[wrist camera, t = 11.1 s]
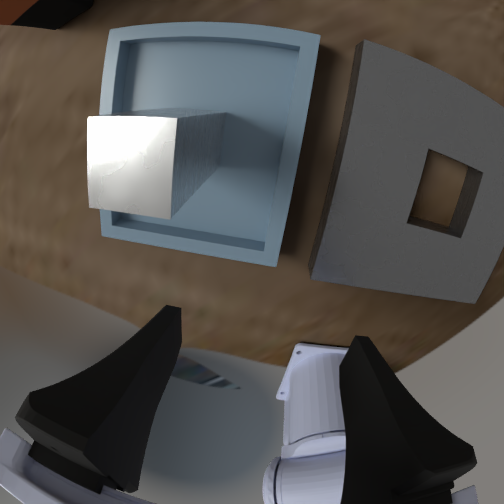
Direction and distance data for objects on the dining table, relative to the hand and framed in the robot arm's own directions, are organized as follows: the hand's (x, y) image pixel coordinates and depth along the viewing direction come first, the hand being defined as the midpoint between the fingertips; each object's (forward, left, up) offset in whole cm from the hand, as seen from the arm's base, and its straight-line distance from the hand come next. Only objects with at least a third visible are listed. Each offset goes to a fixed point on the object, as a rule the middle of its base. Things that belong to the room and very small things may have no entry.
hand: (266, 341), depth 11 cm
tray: (+6, +6, -10) cm, 13 cm away
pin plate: (+6, -11, -10) cm, 16 cm away
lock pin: (+6, +6, -10) cm, 13 cm away
